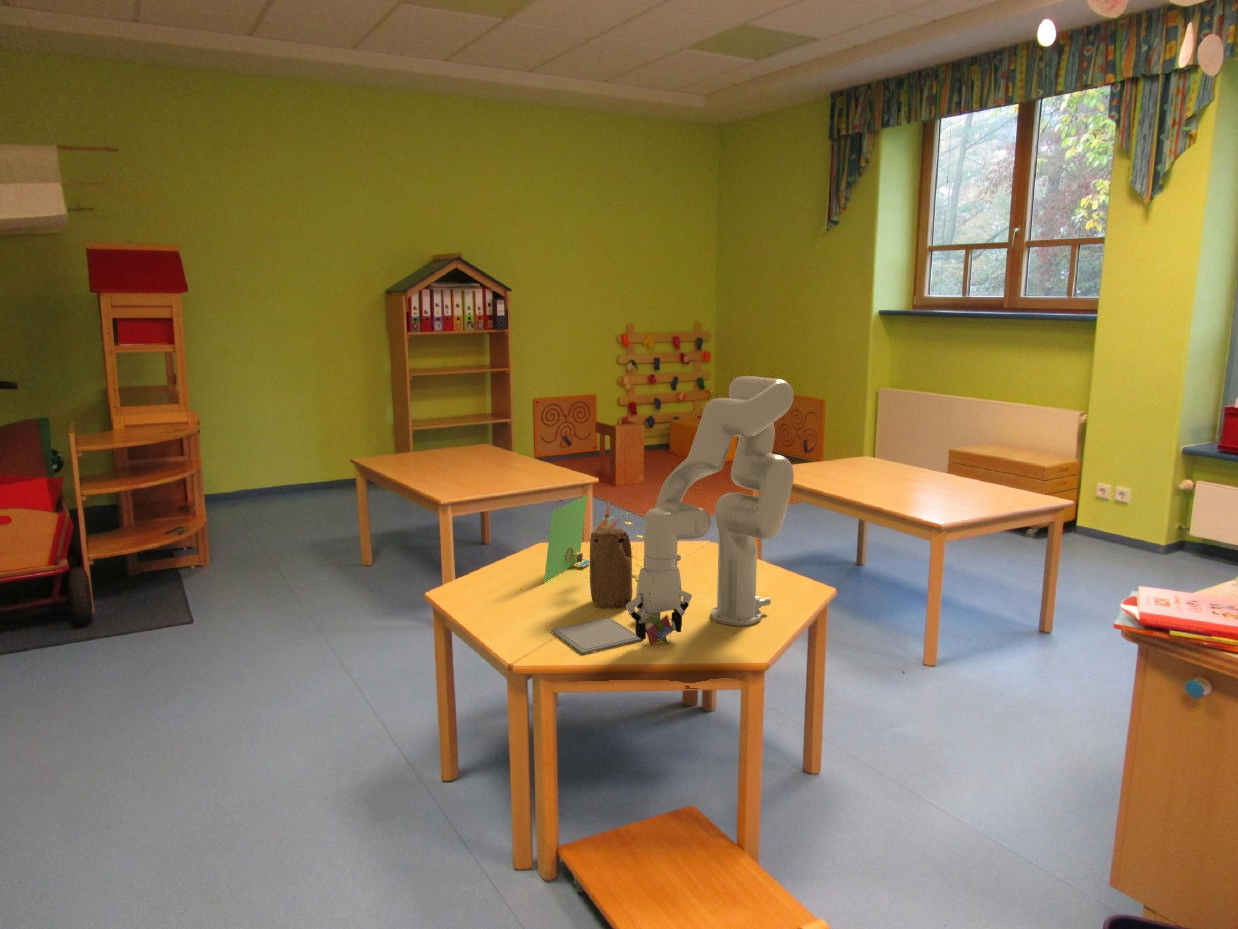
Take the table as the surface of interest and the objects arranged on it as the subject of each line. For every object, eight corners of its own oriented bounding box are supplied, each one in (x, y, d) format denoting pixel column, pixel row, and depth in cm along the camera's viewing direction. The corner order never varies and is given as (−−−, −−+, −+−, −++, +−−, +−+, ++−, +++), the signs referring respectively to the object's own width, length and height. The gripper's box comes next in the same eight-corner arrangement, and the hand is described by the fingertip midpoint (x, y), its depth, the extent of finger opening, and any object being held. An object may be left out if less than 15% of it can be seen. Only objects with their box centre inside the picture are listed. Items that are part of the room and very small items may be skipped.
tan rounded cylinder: (653, 613, 222) (653, 595, 221) (664, 620, 218) (664, 600, 217) (636, 617, 220) (636, 598, 219) (647, 623, 216) (647, 604, 215)
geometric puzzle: (649, 644, 198) (667, 612, 199) (631, 634, 203) (648, 604, 205) (669, 656, 202) (686, 625, 203) (651, 646, 207) (667, 616, 209)
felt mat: (608, 619, 219) (608, 616, 219) (642, 640, 205) (642, 637, 205) (550, 631, 211) (550, 628, 211) (582, 654, 197) (582, 652, 197)
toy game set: (622, 608, 237) (634, 524, 231) (542, 583, 246) (551, 502, 240) (653, 584, 256) (664, 506, 250) (577, 562, 265) (586, 486, 259)
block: (588, 607, 227) (587, 532, 223) (595, 597, 234) (594, 525, 230) (629, 610, 225) (629, 535, 221) (635, 600, 232) (635, 527, 228)
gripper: (682, 553, 208) (680, 622, 211) (619, 563, 199) (618, 635, 202) (701, 561, 201) (698, 632, 204) (636, 572, 193) (635, 646, 196)
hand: (658, 634), depth 203 cm, fingers open, 9 cm apart
